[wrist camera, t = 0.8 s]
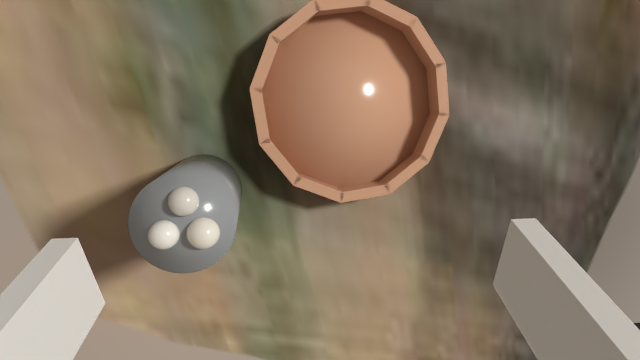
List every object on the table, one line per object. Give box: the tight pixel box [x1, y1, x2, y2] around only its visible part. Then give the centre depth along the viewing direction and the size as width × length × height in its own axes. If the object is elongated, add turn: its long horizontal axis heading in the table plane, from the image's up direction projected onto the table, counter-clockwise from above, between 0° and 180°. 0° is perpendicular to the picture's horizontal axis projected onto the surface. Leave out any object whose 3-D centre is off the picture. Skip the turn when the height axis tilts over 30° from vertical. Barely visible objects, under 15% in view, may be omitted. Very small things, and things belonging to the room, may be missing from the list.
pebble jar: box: [128, 154, 242, 273], centre depth 30 cm, size 7×7×12 cm
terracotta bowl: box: [250, 0, 449, 203], centre depth 35 cm, size 18×18×3 cm
